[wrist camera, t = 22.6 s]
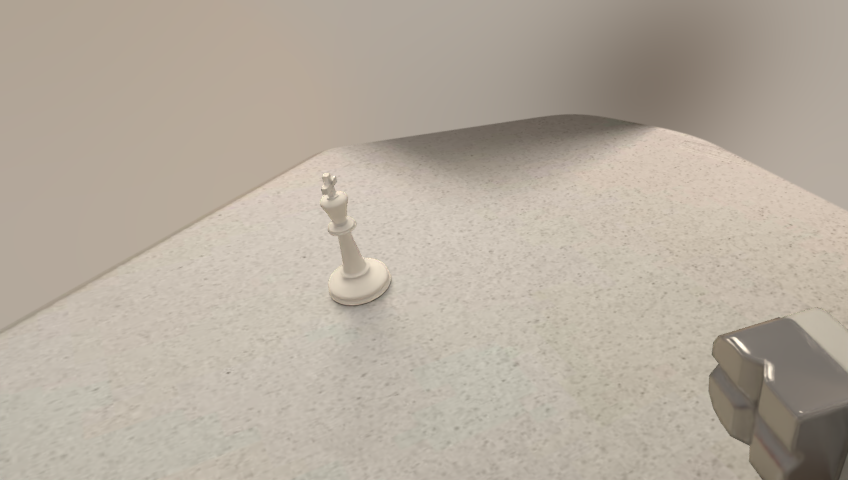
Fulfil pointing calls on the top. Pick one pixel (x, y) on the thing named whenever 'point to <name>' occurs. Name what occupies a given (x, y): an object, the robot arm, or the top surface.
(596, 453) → the top surface
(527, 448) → the top surface
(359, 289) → the chess piece
